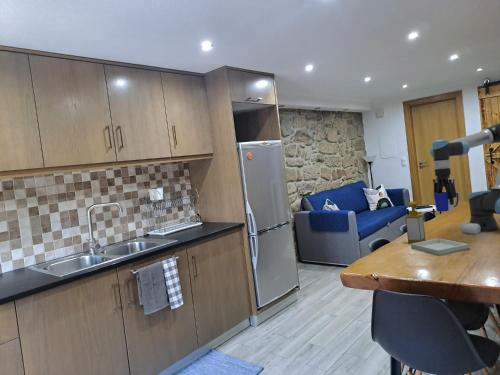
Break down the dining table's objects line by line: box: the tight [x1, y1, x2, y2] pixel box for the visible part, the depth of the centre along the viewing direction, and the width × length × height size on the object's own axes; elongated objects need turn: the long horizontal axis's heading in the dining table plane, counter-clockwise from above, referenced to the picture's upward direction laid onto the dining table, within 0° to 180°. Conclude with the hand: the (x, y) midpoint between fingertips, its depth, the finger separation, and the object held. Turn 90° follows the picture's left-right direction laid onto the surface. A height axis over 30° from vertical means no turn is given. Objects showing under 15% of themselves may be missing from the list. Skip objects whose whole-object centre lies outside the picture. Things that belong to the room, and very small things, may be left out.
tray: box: [410, 237, 470, 256], centre depth 188 cm, size 18×20×3 cm
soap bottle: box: [404, 201, 427, 245], centre depth 209 cm, size 7×13×24 cm, turn 137°
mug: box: [433, 191, 459, 212], centre depth 198 cm, size 8×12×10 cm
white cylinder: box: [460, 222, 481, 235], centre depth 212 cm, size 6×6×8 cm
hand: (446, 210), depth 198 cm, fingers closed on mug, 7 cm apart
